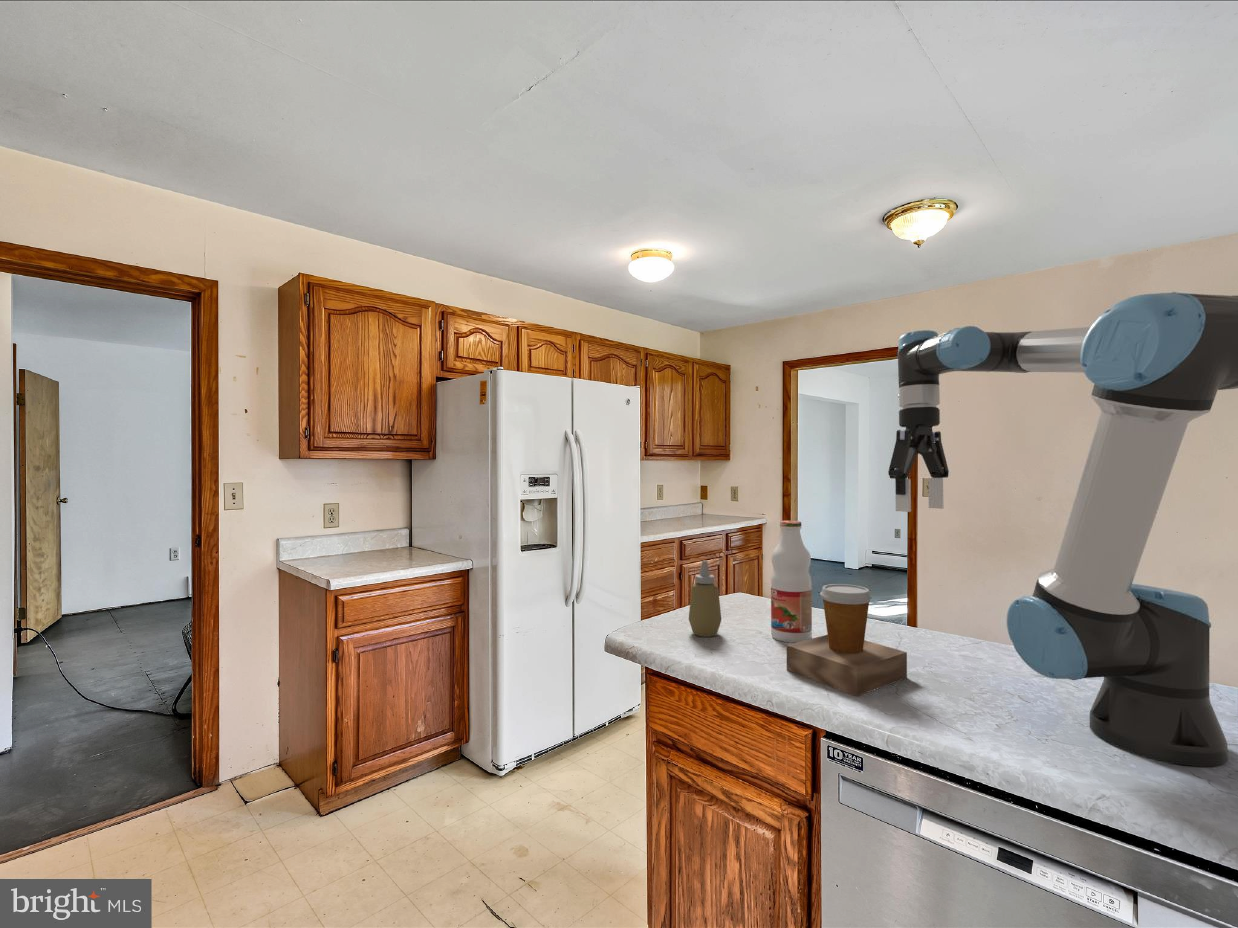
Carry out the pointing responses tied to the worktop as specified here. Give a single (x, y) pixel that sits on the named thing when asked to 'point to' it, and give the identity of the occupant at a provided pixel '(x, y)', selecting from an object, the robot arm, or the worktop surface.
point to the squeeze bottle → (704, 604)
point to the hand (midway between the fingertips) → (920, 510)
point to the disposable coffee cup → (846, 616)
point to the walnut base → (847, 665)
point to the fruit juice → (791, 587)
